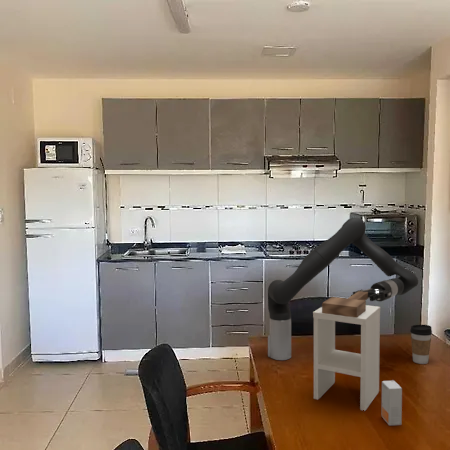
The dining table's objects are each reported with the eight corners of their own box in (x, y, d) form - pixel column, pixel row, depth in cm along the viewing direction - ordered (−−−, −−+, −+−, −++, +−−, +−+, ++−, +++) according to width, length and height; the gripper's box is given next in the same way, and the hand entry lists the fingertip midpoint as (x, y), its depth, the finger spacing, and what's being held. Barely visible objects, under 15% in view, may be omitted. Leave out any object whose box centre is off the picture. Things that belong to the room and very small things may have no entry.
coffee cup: (433, 365, 199) (434, 329, 198) (411, 364, 201) (412, 328, 200) (429, 358, 207) (429, 323, 206) (408, 357, 209) (408, 323, 208)
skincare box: (380, 416, 157) (381, 380, 156) (393, 416, 157) (394, 380, 156) (388, 426, 151) (389, 388, 150) (402, 425, 151) (402, 387, 150)
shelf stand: (313, 399, 170) (313, 312, 168) (331, 381, 185) (331, 300, 183) (364, 411, 161) (365, 319, 158) (379, 391, 176) (380, 306, 173)
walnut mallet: (322, 312, 166) (322, 302, 166) (347, 296, 190) (347, 287, 189) (356, 317, 160) (356, 307, 160) (379, 299, 183) (379, 290, 183)
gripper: (367, 281, 203) (344, 288, 193) (399, 281, 192) (375, 288, 182) (370, 298, 203) (346, 307, 193) (401, 300, 192) (378, 308, 182)
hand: (360, 298), depth 187 cm, fingers open, 8 cm apart
